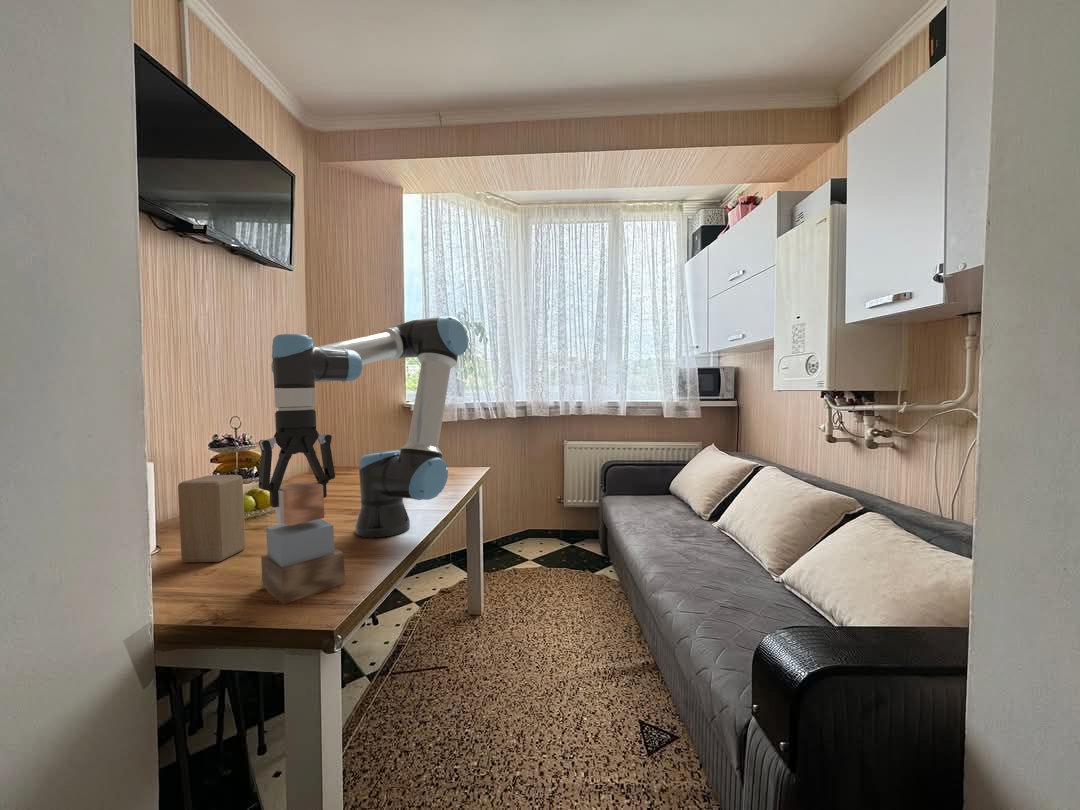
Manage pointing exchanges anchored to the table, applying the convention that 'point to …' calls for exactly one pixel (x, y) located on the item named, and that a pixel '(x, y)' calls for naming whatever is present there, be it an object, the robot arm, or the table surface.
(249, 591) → the table surface
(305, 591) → the tower base
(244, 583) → the table surface
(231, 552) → the block
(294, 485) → the cube
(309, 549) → the tower top
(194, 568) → the table surface
